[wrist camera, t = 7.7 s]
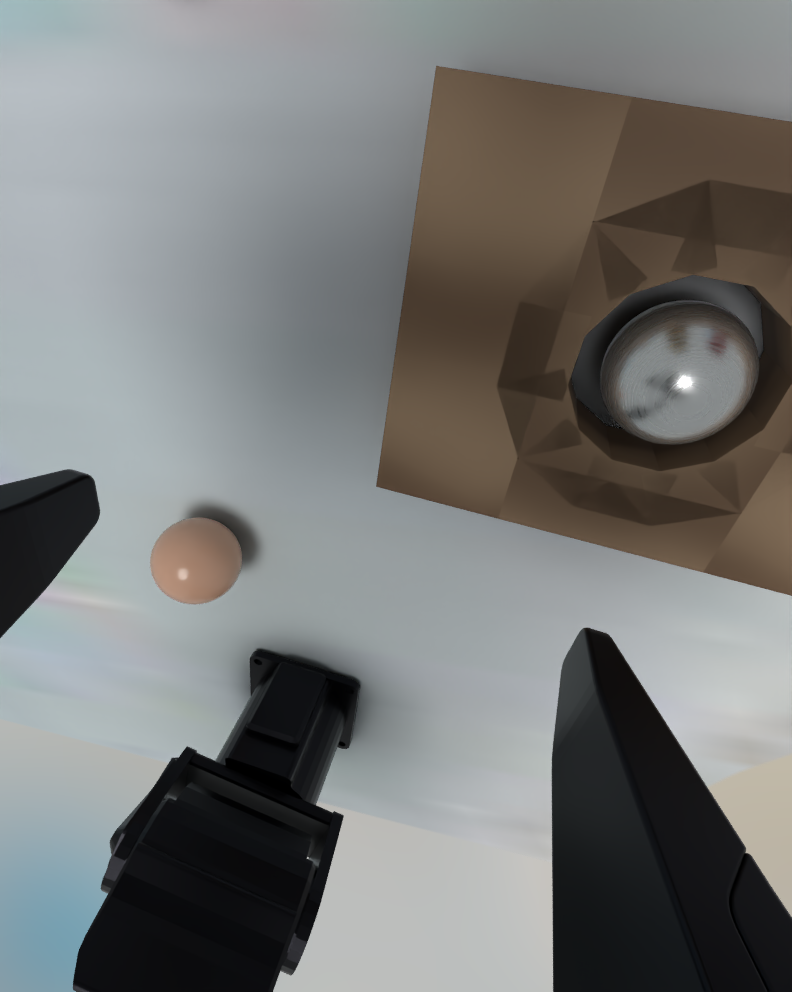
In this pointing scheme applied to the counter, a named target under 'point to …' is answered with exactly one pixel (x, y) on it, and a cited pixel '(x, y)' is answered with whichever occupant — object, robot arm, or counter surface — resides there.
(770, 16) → the counter surface
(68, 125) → the counter surface
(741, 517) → the brown recessed board
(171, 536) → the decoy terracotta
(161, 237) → the counter surface
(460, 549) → the counter surface
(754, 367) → the steel ball
